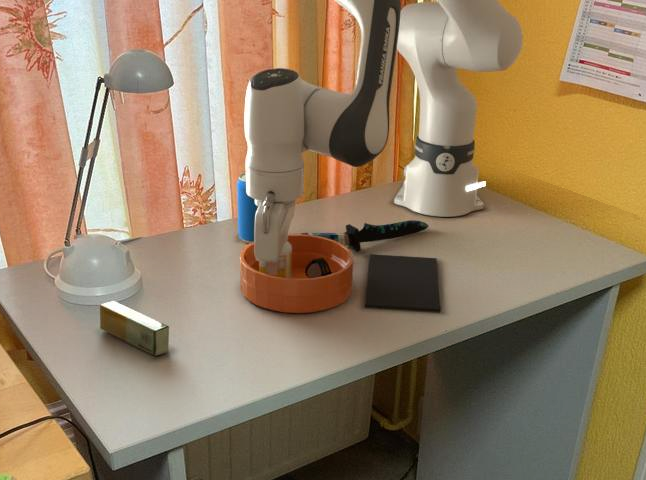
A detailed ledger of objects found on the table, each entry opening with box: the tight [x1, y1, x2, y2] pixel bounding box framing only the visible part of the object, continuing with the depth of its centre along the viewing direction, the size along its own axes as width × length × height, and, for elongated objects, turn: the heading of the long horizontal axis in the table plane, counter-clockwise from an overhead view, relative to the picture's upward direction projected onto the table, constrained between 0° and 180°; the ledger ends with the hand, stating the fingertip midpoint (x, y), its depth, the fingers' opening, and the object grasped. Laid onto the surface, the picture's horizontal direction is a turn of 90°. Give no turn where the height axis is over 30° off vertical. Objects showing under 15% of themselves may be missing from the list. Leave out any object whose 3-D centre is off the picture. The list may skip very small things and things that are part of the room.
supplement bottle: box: [259, 230, 292, 278], centre depth 128 cm, size 5×5×10 cm
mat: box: [364, 253, 442, 313], centre depth 135 cm, size 20×12×1 cm, turn 176°
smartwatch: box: [305, 258, 332, 278], centre depth 129 cm, size 4×5×5 cm
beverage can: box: [236, 172, 258, 244], centre depth 145 cm, size 6×6×12 cm
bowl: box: [239, 233, 355, 314], centre depth 129 cm, size 18×18×6 cm
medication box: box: [99, 300, 170, 357], centre depth 113 cm, size 12×3×4 cm, turn 54°
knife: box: [300, 219, 429, 253], centre depth 147 cm, size 31×3×4 cm, turn 124°
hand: (275, 264), depth 129 cm, fingers closed on supplement bottle, 5 cm apart
